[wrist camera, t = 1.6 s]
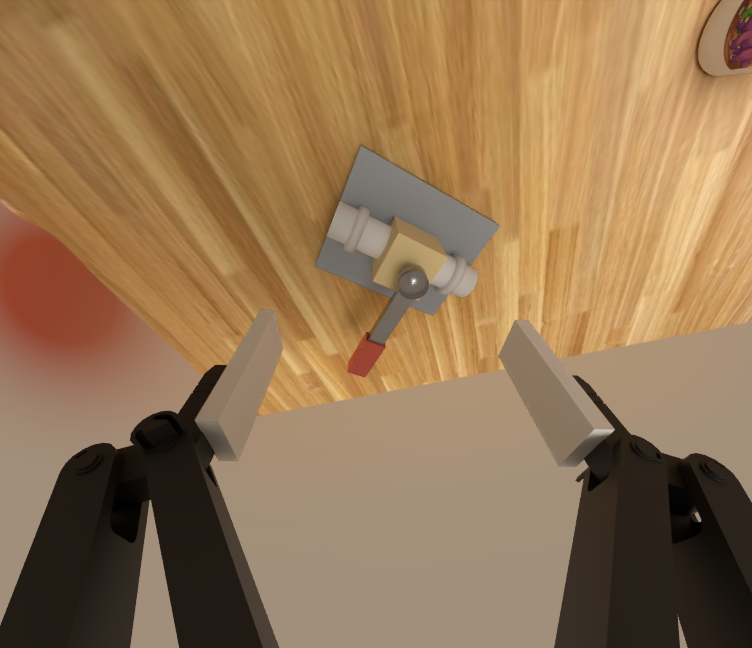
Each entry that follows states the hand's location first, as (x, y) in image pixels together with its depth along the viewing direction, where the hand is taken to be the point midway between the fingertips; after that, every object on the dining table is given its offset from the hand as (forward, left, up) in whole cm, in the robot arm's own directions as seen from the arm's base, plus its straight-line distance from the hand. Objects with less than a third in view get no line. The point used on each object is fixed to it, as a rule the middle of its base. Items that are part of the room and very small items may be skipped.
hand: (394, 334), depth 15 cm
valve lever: (+5, -9, -15) cm, 18 cm away
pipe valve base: (+5, -2, -26) cm, 26 cm away
